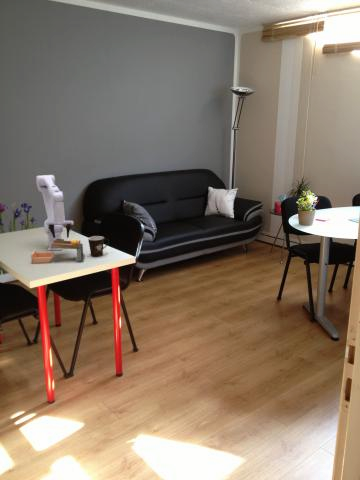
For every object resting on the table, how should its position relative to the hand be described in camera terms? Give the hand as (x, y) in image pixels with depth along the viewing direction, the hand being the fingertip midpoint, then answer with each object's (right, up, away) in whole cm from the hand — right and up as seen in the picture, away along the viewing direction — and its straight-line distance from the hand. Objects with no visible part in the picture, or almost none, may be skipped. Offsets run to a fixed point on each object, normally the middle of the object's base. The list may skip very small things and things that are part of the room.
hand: (61, 237), depth 244 cm
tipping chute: (+4, -4, -3) cm, 7 cm away
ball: (+9, -3, -7) cm, 12 cm away
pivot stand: (+12, -12, -4) cm, 17 cm away
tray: (-8, -13, -6) cm, 16 cm away
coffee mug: (+21, -10, +3) cm, 23 cm away
